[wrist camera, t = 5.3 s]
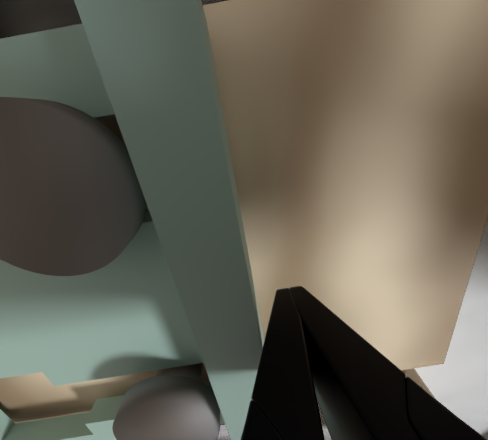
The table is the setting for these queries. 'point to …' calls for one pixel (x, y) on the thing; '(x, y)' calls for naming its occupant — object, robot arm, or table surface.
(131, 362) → the panel
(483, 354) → the table surface
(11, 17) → the table surface
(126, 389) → the board
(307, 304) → the robot arm
